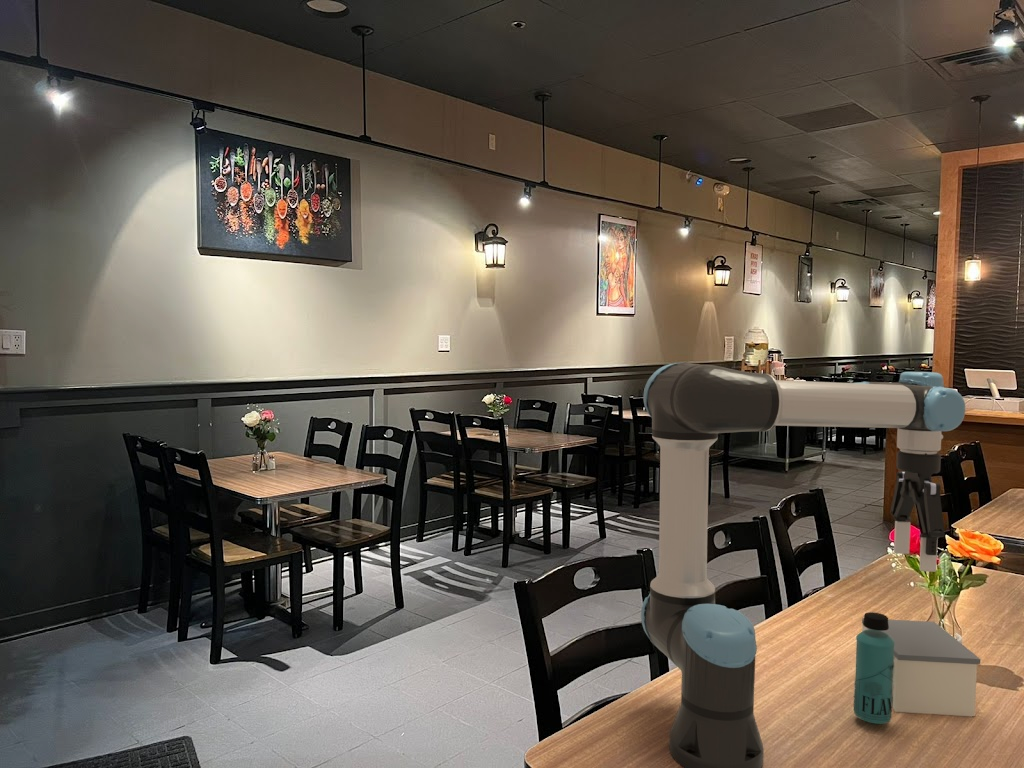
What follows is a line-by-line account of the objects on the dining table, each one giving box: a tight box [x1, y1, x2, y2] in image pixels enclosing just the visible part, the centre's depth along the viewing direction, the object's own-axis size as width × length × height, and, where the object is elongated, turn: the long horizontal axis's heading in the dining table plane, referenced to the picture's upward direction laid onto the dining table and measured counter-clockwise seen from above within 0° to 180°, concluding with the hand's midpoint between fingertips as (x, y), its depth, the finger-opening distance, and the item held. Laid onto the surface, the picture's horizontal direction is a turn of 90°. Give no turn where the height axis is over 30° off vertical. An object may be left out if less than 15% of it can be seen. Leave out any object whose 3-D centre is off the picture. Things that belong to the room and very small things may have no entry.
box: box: [861, 623, 978, 717], centre depth 147 cm, size 14×18×10 cm
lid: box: [861, 617, 982, 665], centre depth 147 cm, size 14×19×1 cm
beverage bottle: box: [852, 611, 894, 725], centre depth 134 cm, size 6×7×20 cm
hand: (914, 561), depth 146 cm, fingers open, 11 cm apart
